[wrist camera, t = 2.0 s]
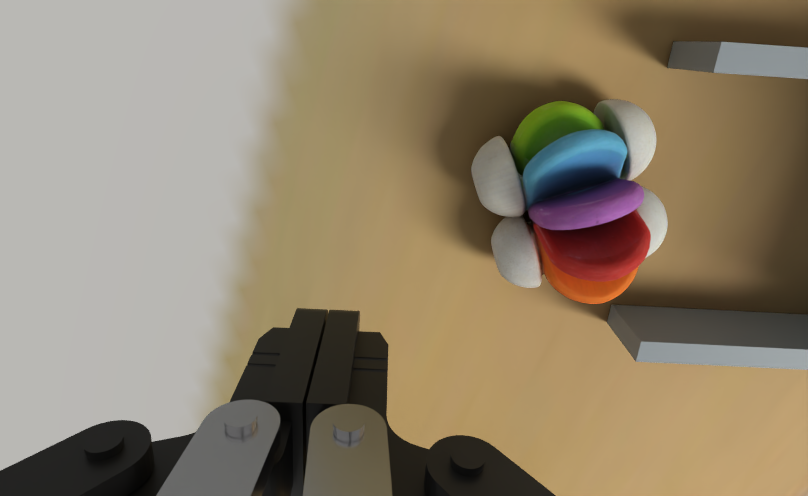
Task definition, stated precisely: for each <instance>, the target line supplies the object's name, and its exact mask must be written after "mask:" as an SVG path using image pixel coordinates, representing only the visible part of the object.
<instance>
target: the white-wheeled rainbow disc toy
mask: <svg viewBox="0 0 808 496" xmlns="http://www.w3.org/2000/svg"><path fill="white" fill-rule="evenodd" d="M655 148H656V133H655V129H654V126H653V123H652V121H651V119H650V118H649V116H648V115H647V114H646V113H645V112H644V111H643V110H642V109H641V108H640V107H638V106H637V105H635V104H633V103H631V102H628V101H625V100H617V99H610V100H603V101H601V102H599V103H598V104H597V106H596V107H595V110H594V114H593V113H592V112H591V111H589V110H588V109H586V108H585V107H583V106H581V105H578V104H575V103H571V102H566V101H555V102H551V103H547V104H545V105H542V106H540V107H538V108H536V109H535V110H533V111H532V112H531V113H530V114H528V115H527V116H526V117H525V119H524V120H523V121H522V122H521V124H520V125H519V127H518V129H517V130H516V133H515V135H514V137H513V140H512V141H511V143H510V150H509V148H508V146H507V144H506V142H505V141H504V139H503V138H502V137H500V136H496V137H494V138H492V139H491V140H489V141H488V142H487V143H485V144H484V145H483V146H482V147H481V148H480V150H479V151H478V153H477V154H476V156H475V158H474V160H473V163H472V167H471V172H472V177H473V181H474V185H475V188H476V191H477V194H478V197H479V200H480V202H481V203H482V205H483V206H484V207H486V208H487V209H488V210H490V211H491V212H493V213H495V214H498V215H501V216H506V217H505V218H504V219H503V220H502V221H501V222H500V223H499V224H498V225H497V227H496V228H495V230H494V232H493V235H492V237H491V245H492V250H493V254H494V258H495V261H496V265H497V268H498V270H499V272H500V274H501V275H502V276H503V277H504V278H505V279H506V280H507V281H509V282H511V283H513V284H515V285H517V286H521V287H526V288H534V287H538V286H540V284H541V281H542V275H543V274H545V275H546V278H547V280H548V281H549V283H550V284H551V285H552V286H553V287H554V288H555V289H556V290H557V291H558V292H560V293H561V294H563V295H564V296H566V297H567V298H569V299H572V300H574V301H578V302H582V303H588V304H599V303H605V302H607V301H610V300H612V299H614V298H615V297H617V296H619V295H620V294H621V293H622V292H624V291H625V290H626V289H627V287H628V286H629V285H630V284H631V282H632V281H633V279H634V277H635V275H636V273H637V270H638V266H639V265H640V264H641V263H642V262H643V260H644V259H645V258H646V257H648V256H650V255H651V254H652V253H653V252H655V251H656V250H657V249H658V247H659V246H660V245H661V243H662V242H663V240H664V238H665V235H666V232H667V226H668V223H667V215H666V211H665V208H664V206H663V204H662V202H661V201H660V199H659V198H658V197H657V196H656V195H655V194H654V193H652V192H651V191H650V190H648V189H646V188H645V187H642V186H640V185H639V184H638V183H636V182H633V181H631V180H632V179H634V178H635V177H637V176H638V175H639V174H641V173H642V172H643V171H644V170H645V169H646V167H647V166H648V164H649V163H650V161H651V159H652V157H653V155H654V152H655ZM526 210H528V213H529V217H530V219H529V221H528V222H527V223H526V221H525V219H524V218H523V215H522V214H523V213H524V212H525V211H526Z"/></svg>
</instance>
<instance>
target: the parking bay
mask: <svg viewBox="0 0 808 496" xmlns="http://www.w3.org/2000/svg"><path fill="white" fill-rule="evenodd" d="M667 68H673V69H683V70H693V71H703V72H712V73H727V74H741V75H756V76H771V77H786V78H800V79H808V48H805V47H791V46H776V45H762V44H748V43H733V42H684V41H673V46H672V50H671V54H670V58H669V62H668V67H667ZM607 323H608V325H609V326H610V327H611V329H612V330H613V331H614V333H615V334H616V335H617V337H618V338H619V339H620V341H621V342H622V344H623V345H624V346H625V348H626V349H627V350H628V352H629V353H630V354H631V356H632V357H633V358H634V360H635V361H636V362H656V363H677V364H698V365H719V366H740V367H761V368H782V369H803V370H808V315H806V314H786V313H767V312H747V311H728V310H709V309H689V308H670V307H650V306H631V305H611V308H610V312H609V316H608V320H607Z"/></svg>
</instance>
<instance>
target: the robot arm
mask: <svg viewBox="0 0 808 496" xmlns="http://www.w3.org/2000/svg"><path fill="white" fill-rule="evenodd" d="M359 323H360V311H345V310H329V314H328V310H323V309H303V308H297V310H296V312H295V315H294V317H293V320H292V323H291V325H290V328H274V327H273V328H272V329H271V330H269V331H268V332H267V333H266V334H264V335H263V336H262V337H260V338H259V340H258V342H257V344H256V346H255V348H254V351H253V355H251V357H250V359H249V361H248V365H247V366H246V368H245V370H244V372H243V374H242V376H241V379H240V381H239V383H238V385H237V387H236V389H235V392H234V394H233V396H232V398H231V400H230V402H229V403H226V404H224V405H222V406H220V407H218V408H216V409H215V410H213V411H212V412H210V413H209V414H208V415H207V416H206V418H205V419H204V420H203V422H202V423H201V425H200V427H199V428H198V430H197V431H196V432H195V433H192V434H189V435H185V436H181V437H176V438H171V439H166V440H159V441H155V442H151V434H150V432H149V430H148V429H147V428H146V427H145V426H144V425H142V424H140V423H137V422H134V421H127V420H126V421H125V420H118V421H110V422H106V423H101V424H98V425H95V426H92V427H90V428H88V429H85V430H83V431H81V432H80V433H77V434H75V435H73V436H71V437H69V438H67V439H65V440H63V441H61V442H59V443H57V444H55V445H53V446H51V447H49V448H46V449H45V450H42V451H40V452H38V453H36V454H34V455H32V456H30V457H28V458H26V459H24V460H22V461H20V462H18V463H16V464H14V465H12V466H9V467H7V468H5V469H3V470H1V471H0V496H555V495H554V494H553V493H552V492H550V491H549V490H548V489H547V488H545V487H544V486H543V485H542V484H540V483H539V482H538V481H537V480H535V479H534V478H533V477H531V476H530V475H529V474H528V473H526V472H525V471H524V470H523V469H521V468H520V467H519V466H518V465H516V464H515V463H514V462H513V461H511V460H510V459H509V458H507V457H506V456H505V455H504V454H502V453H501V452H500V451H499V450H497V449H496V448H495V447H493V446H492V445H491V444H489V443H487V442H485V441H483V440H481V439H478V438H475V437H471V436H464V435H456V436H449V437H446V438H443V439H441V440H439V441H437V442H436V443H435V444H434V445H433V446H432V447H431V448H430V450H429V449H426V448H422V447H419V446H416V445H413V444H410V443H408V442H406V441H404V440H403V439H401V438H400V437H399V436H397V435H396V434H395V433H394V432H393V430H392V429H391V428H390V426H389V424H388V421H387V416H386V409H387V370H388V344H387V342H386V341H385V339H384V338H383V336H382V335H381V333H380V332H359Z"/></svg>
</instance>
